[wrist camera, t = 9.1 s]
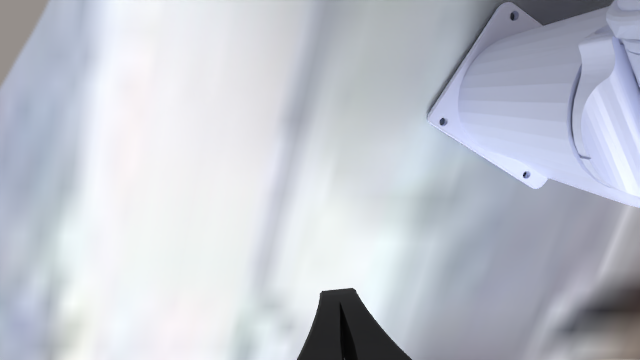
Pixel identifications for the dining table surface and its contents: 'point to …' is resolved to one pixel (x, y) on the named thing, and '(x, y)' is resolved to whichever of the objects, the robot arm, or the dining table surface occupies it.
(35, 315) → the dining table surface
